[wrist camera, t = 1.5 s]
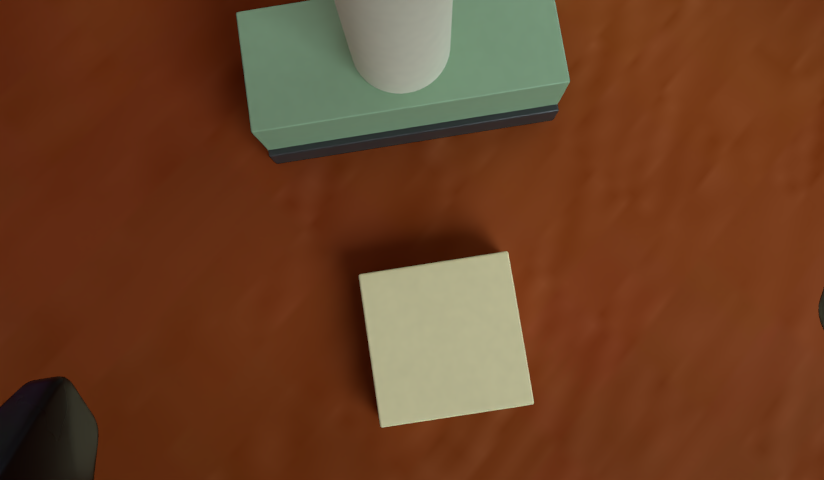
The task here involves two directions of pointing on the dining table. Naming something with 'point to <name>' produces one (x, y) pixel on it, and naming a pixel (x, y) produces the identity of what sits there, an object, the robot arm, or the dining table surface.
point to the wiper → (396, 71)
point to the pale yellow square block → (445, 339)
